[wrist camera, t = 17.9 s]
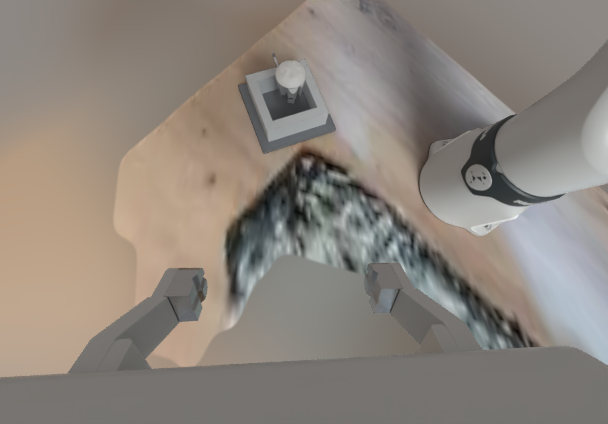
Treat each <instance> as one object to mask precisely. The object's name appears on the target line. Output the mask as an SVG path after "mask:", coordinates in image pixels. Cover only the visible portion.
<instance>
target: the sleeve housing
mask: <svg viewBox="0 0 608 424" xmlns="http://www.w3.org/2000/svg"><path fill="white" fill-rule="evenodd" d="M297 62H298V63H300V64H301V65H302V66H303V67H304V69H305V73H306V77H305V82H304V86H303V90H302V94H301V99H300V104H299V109H298V112H297V113H296V114H294V115H286V114H285V113H283V111H282V109H281V105H280V98H279V92H278V86H277V80H276V75H275V72H276V69H277V67H275V68H271V69H268V70H264V71H260V72H257V73H253V74H249V75H246V76H245V77H246V81H247V83H245V84H242V85H238V87H239V90H240V93H241V95H242V98H243V101H244V103H245V106H246V108H247V111H248V114H249V116H250V119H251V122H252V124H253V127H254V129H255V132H256V135H257V137H258V140H259V143H260V145H261V148H262V150H263V153H264V154H265V153H269V152H272V151H275V150H278V149H281V148H284V147H287V146H290V145H293V144H296V143H299V142H303V141H306V140H309V139H312V138H315V137H318V136H321V135H324V134H327V133H330V132H333V131H335V130H336V127H335V125H334V123H333V121H332V118H331V116H330V114H329V112H328V109H327V107H326V105H325V103H324V100H323V98H322V96H321V94H320V91H319V89H318V87H317V85H316V82H315V80H314V78H313V76H312V73H311V71H310V69H309V67H308V64H307V62H306V60H305V59H304V60H301V61H297Z"/></svg>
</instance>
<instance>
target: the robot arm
mask: <svg viewBox="0 0 608 424" xmlns="http://www.w3.org/2000/svg"><path fill="white" fill-rule="evenodd" d="M607 183H608V40H607V41H606V42H605V43H604V44H603V46H602V47H601V48H600V49H599V50H598V51H597V52H596V53H595V55H594V56H593V57H592V58H591V59H590V60H589V61H588V62H587V63H586V64H585V65H584V66H583V67H582V68H581V69H580V70H579V71H577V72H576V73H575V74H574V75H573V76H571V77H570V78H569V79H567V80H566V81H565V82H563V83H562V84H561V85H559V86H558V87H557V88H555V89H554V90H552V91H551V92H550V93H548V94H547V95H546V96H544V97H543V98H541V99H540V100H538V101H537V102H535V103H534V104H532V105H531V106H530V107H528V108H526V109H525V110H523V111H522V112H520V113H519V114H515V115H511V116H509V117H507V118H505V119H503V120H501V121H499V122H496V123H495V124H492V125H489V126H487V127H485V128H483V129H481V128H476V129H474V130H472V131H471V130H469V131H467V132H465V133H463V134H462V135H460V136H458V137H457V138H454V139H447V140H440V141H436V142H434V143H432V144H431V146H430V150H429V158H428V160H427V162H426V163H425V165H424V167H423V169H422V171H421V175H420V191H421V195H422V198H423V200H424V202H425V204H426V205H427V207H428V208H429V209H430V211H431V212H432V213H433V214H434V215H435V216H437V217H438V218H439V219H441V220H442V221H444V222H446V223H448V224H451V225H455V226H459V227H463V228H465V229H466V230H468V231H469V232H471V233H472V234H474V235H476V236H482V235H485V234H487V233H488V232H490V231H491V230H492V229H494V228H495V227H497V226H498V225H499V224H501V223H502V222H504V221H508V220H513V219H516V218H518V215H519V214H521V213H522V212H523V211H525V210H526V209H527V208H528V207H529V206H530V205H537V204H542V203H545V202H548V201H550V200H554V199H557V198H560V197H561V196H563V195H565V194H566V193H569V192H573V191H578V190H582V189H586V188H591V187H595V186H599V185H603V184H607ZM484 226H485V227H484ZM367 271H368V273H367V274H366V275H365V278H364V286H365V290H366V293H367V294H368V295H369V296H370V300H369V302H370V305H371V308H372V311H373V313H390V314H391V315H392V316H393V317H394V318H395V319H396V320H397V321H398V323H400V325H401V326H402V327H403V328H404V329H405V330H406V331H407V332H408V333H409V334H410V335H411V336H412V337H413V338H414V339H415V340H416V341H417V342H418V343H419V344H420V346H419V348H418V349H417V351H416V352H415V354H408V355H391V356H373V357H355V358H337V359H320V360H319V359H318V360H301V361H283V362H267V363H266V362H265V363H248V364H230V365H213V366H195V367H177V368H159V369H151V367H150V365H149V364H148V363H147V361H146V360H145V359H146V357H148V355H149V354H150V353H151V352H152V351H153V350H154V349H155V348H156V347H157V346H158V345H159V344H160V343H161V342H162V341H163V339H164V338H165V337H166V336H167V335H168V334H169V333H170V332H171V331H172V330H173V329H174V328H175V327H176V326H177V325H178V323H179V322H184V321H198V319H199V316H200V313H201V310H202V305H201V302H202V301H204V300H205V298H206V295H207V288H208V287H207V280H206V279H205V278H204V277H203V276H204V271H203V268H169V269H167V270H166V271H165V273H164V275H163V277H162V279H161V280H160V282H159V284H158V286H157V288H156V289H155V291H154V293H153V295H152V297H150V298H146V299H145V300H144V301H142V302H141V303H140V304H138V305H137V306H135V307H134V308H133V309H131V310H130V311H129V312H127V313H126V314H125V315H123V316H122V317H120V318H119V319H118V320H116V321H115V322H114V323H112V324H111V325H110V326H108V327H107V328H106V329H104V330H103V331H101V332H100V333H99V334H97V335H96V336H95V337H93V338H92V339H91V340H90V341H89V343H88V344H87V346H86V347H85V349H84V350H83V352H82V353H81V355H80V356H79V357H78V359H77V360H76V362H75V363H74V365H73V366H72V368H71V369H70V370H69V372H68V373H67V374H51V375H34V376H15V377H0V424H608V365H606V364H604V363H603V362H601V361H599V360H598V359H596V358H594V357H592V356H591V355H589V354H587V353H585V352H583V351H581V350H579V349H577V348H574V347H570V346H549V347H532V348H514V349H496V350H482V348H481V347H480V345H479V344H478V342H477V341H476V339H475V338H474V336H473V335H472V333H471V332H470V330H469V329H468V327H467V326H466V324H465V323H464V322H463V321H462V320H460V319H459V318H457V317H456V316H455V315H453V314H452V313H450V312H449V311H448V310H446V309H445V308H443V307H442V306H441V305H439V304H438V303H436V302H435V301H434V300H432V299H431V298H429V297H428V296H427V295H425V294H424V293H422V292H421V291H420V290H418V289H414V288H413V286H412V284H411V282H410V280H409V279H408V277H407V275H406V273H405V272H404V270H403V268H402V266H401V265H400V263H370V264H368V267H367Z"/></svg>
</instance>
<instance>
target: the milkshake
mask: <svg viewBox="0 0 608 424" xmlns="http://www.w3.org/2000/svg"><path fill="white" fill-rule="evenodd" d="M272 56H273V58H274V61H275V63H276V66H277V69H276V72H275V75H276V80H277V86H278V92H279V98H280V105H281V109H282V111H283V113H285V114H286V115H294V114H296V113H297V112H298V109H299V104H300V99H301V94H302V90H303V86H304V82H305V77H306V73H305V69H304V67H303V66H302V65H301V64H300V63H298V62H297V61H296V60H290V61H289V60H287V61H284V62H282V63H281V64H280V65H279V64H278V61H277V59H276V56H275V54H274V52H273V53H272Z"/></svg>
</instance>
